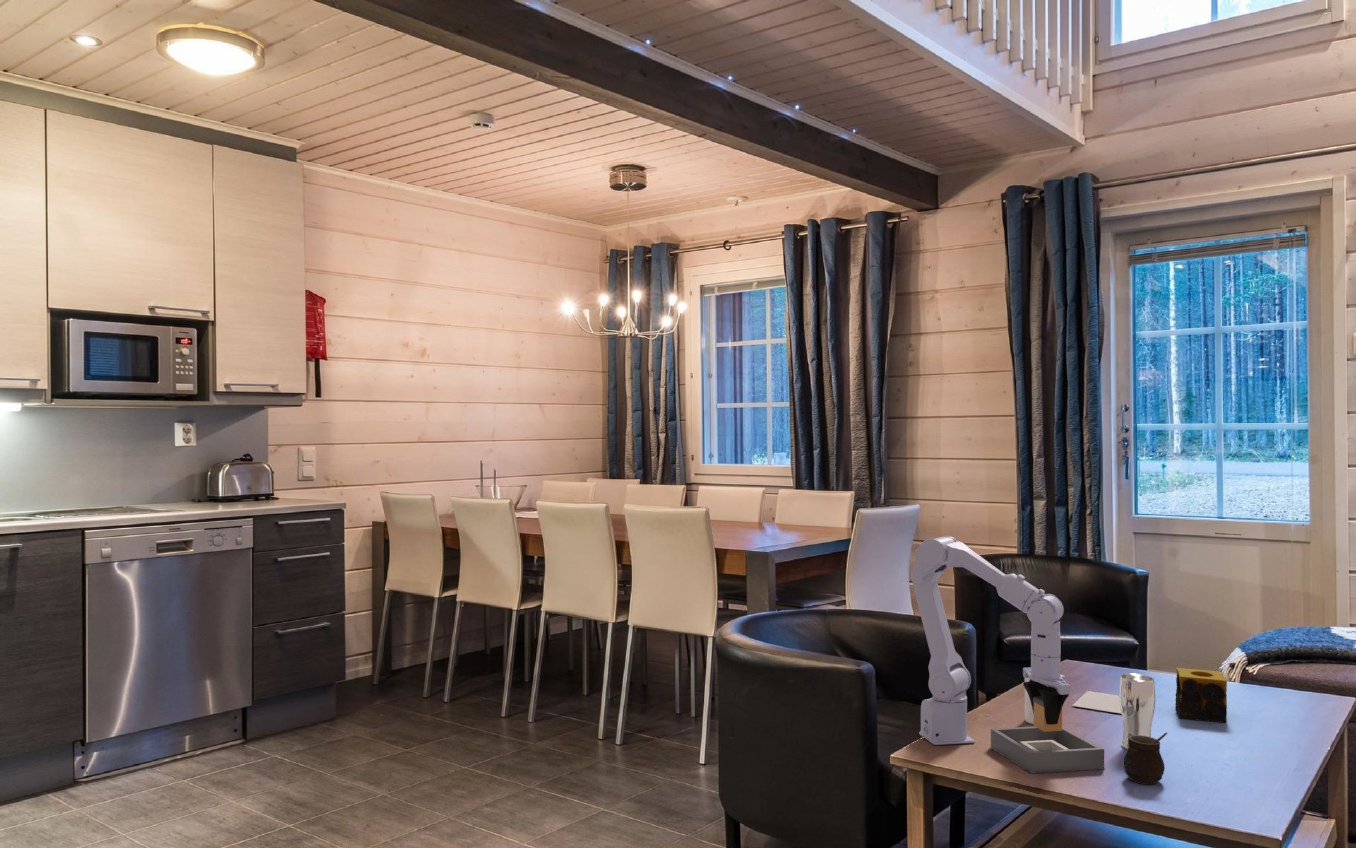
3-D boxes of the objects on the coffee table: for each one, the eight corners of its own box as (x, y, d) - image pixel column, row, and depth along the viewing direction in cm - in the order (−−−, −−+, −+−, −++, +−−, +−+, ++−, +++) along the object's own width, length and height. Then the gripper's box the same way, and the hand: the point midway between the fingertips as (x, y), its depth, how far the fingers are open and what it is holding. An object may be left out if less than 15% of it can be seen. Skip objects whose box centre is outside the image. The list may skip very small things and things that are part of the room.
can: (1056, 727, 221) (1056, 674, 221) (1026, 725, 223) (1026, 673, 223) (1051, 719, 228) (1051, 668, 228) (1022, 717, 229) (1022, 666, 229)
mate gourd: (1122, 771, 192) (1122, 721, 192) (1164, 777, 190) (1165, 726, 190) (1123, 784, 186) (1124, 731, 186) (1167, 790, 183) (1168, 737, 183)
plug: (1043, 731, 198) (1044, 702, 198) (1033, 725, 202) (1033, 696, 202) (1062, 730, 199) (1062, 701, 199) (1051, 724, 203) (1051, 696, 203)
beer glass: (1152, 744, 209) (1152, 674, 210) (1157, 754, 203) (1157, 682, 203) (1117, 741, 212) (1117, 672, 212) (1121, 750, 205) (1120, 679, 205)
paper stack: (1032, 702, 243) (1032, 699, 243) (1057, 681, 263) (1057, 678, 263) (1133, 718, 229) (1133, 715, 229) (1152, 695, 250) (1152, 692, 250)
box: (1030, 773, 191) (1030, 753, 191) (990, 747, 207) (990, 729, 207) (1104, 769, 194) (1104, 749, 194) (1059, 743, 210) (1059, 725, 210)
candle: (1178, 719, 228) (1178, 676, 228) (1174, 707, 238) (1174, 666, 238) (1227, 724, 224) (1227, 680, 225) (1221, 712, 234) (1221, 670, 234)
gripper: (1083, 662, 194) (1083, 730, 194) (1044, 646, 208) (1044, 709, 208) (1051, 663, 193) (1051, 732, 193) (1014, 647, 207) (1014, 711, 207)
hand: (1045, 720), depth 200 cm, fingers closed on plug, 4 cm apart
